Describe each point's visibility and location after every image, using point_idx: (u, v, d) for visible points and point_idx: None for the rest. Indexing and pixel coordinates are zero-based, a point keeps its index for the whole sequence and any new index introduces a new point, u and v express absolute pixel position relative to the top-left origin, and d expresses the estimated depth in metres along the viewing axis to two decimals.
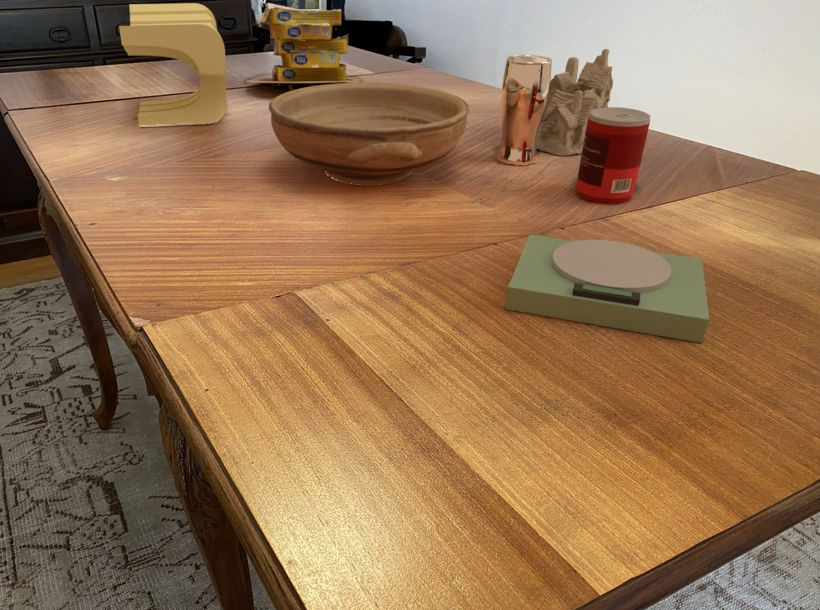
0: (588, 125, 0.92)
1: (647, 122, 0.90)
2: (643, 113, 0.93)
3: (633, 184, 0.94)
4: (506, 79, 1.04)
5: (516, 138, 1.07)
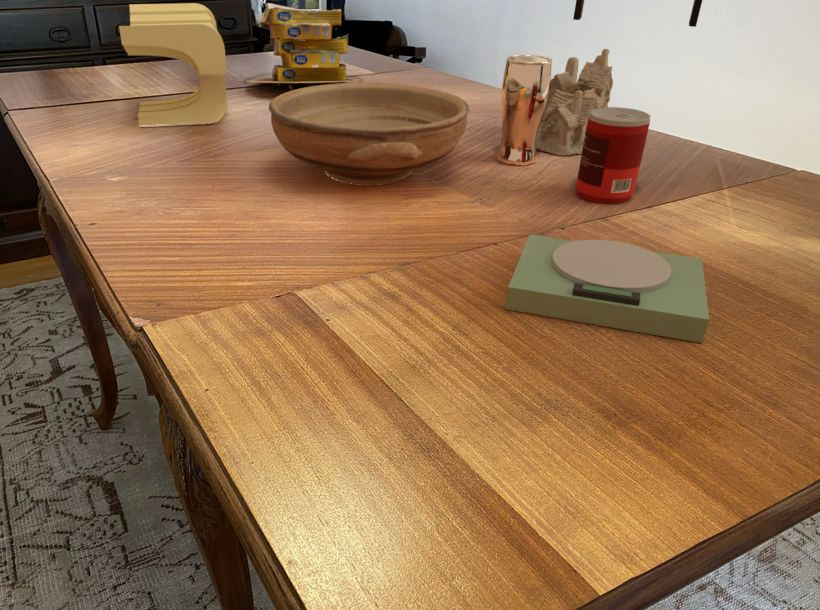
0: (588, 125, 0.92)
1: (647, 122, 0.90)
2: (643, 113, 0.93)
3: (633, 184, 0.94)
4: (506, 79, 1.04)
5: (516, 138, 1.07)
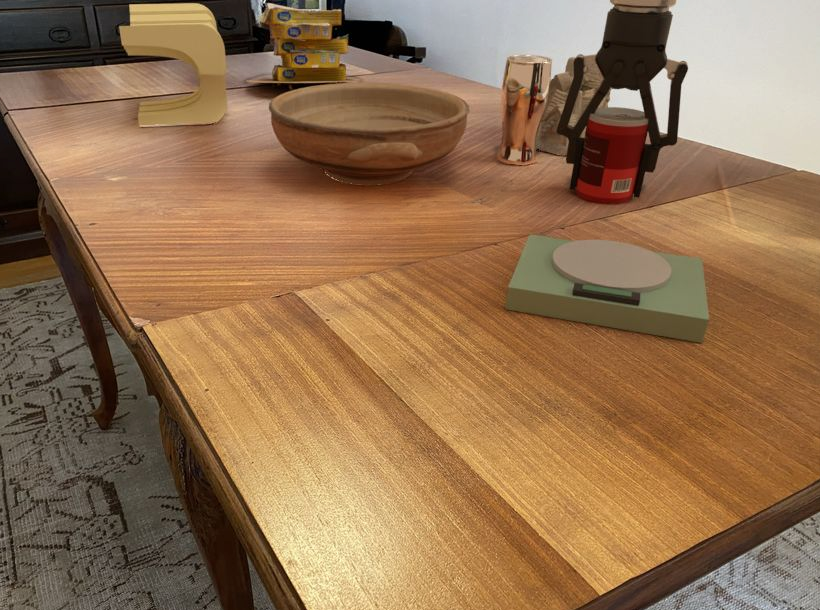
0: (588, 125, 0.92)
1: (647, 122, 0.90)
2: (643, 113, 0.93)
3: (633, 184, 0.94)
4: (506, 79, 1.04)
5: (516, 138, 1.07)
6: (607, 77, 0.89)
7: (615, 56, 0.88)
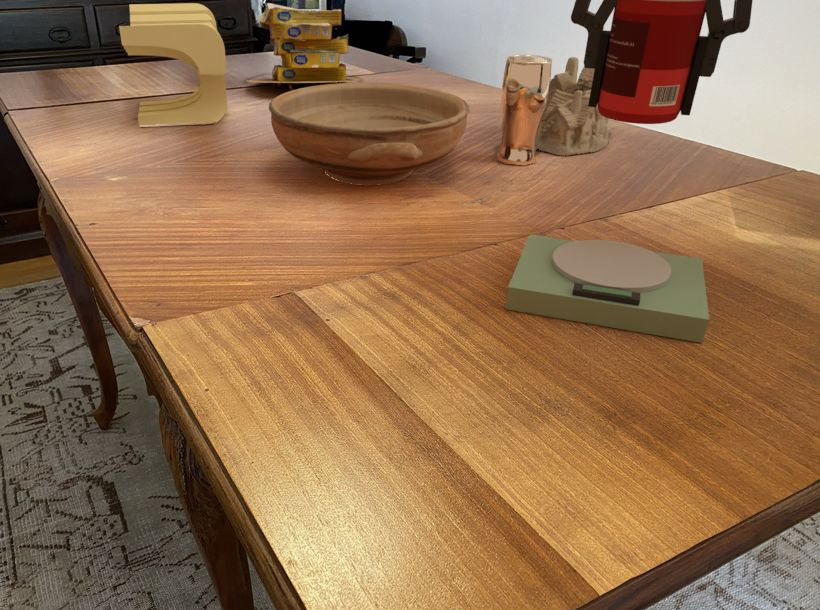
0: (617, 6, 0.64)
1: None
2: None
3: (681, 95, 0.65)
4: (506, 79, 1.04)
5: (516, 138, 1.07)
6: None
7: None
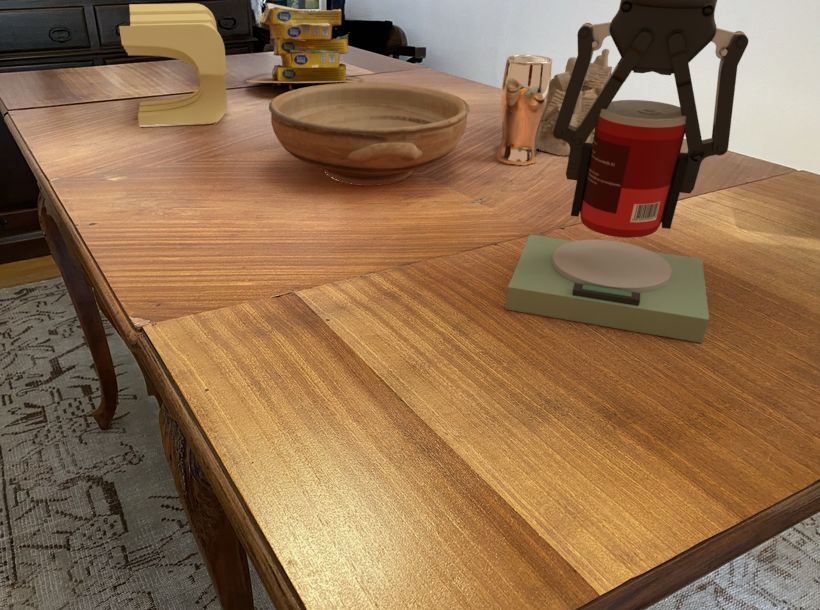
0: (598, 125, 0.64)
1: (685, 121, 0.62)
2: (677, 108, 0.64)
3: (662, 210, 0.66)
4: (506, 79, 1.04)
5: (516, 138, 1.07)
6: (627, 55, 0.61)
7: (639, 24, 0.60)
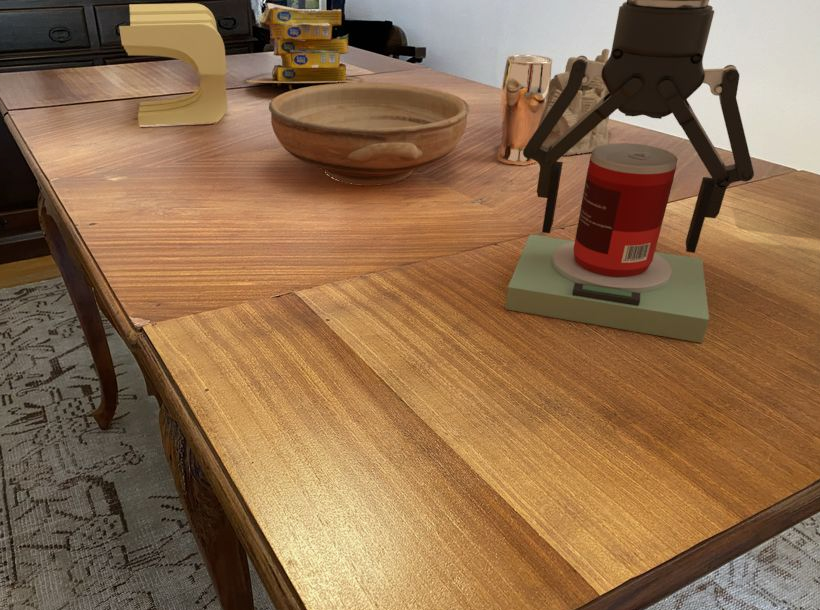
0: (590, 170, 0.66)
1: (673, 167, 0.64)
2: (666, 153, 0.67)
3: (652, 250, 0.68)
4: (506, 79, 1.04)
5: (516, 138, 1.07)
6: (615, 95, 0.62)
7: (630, 75, 0.62)
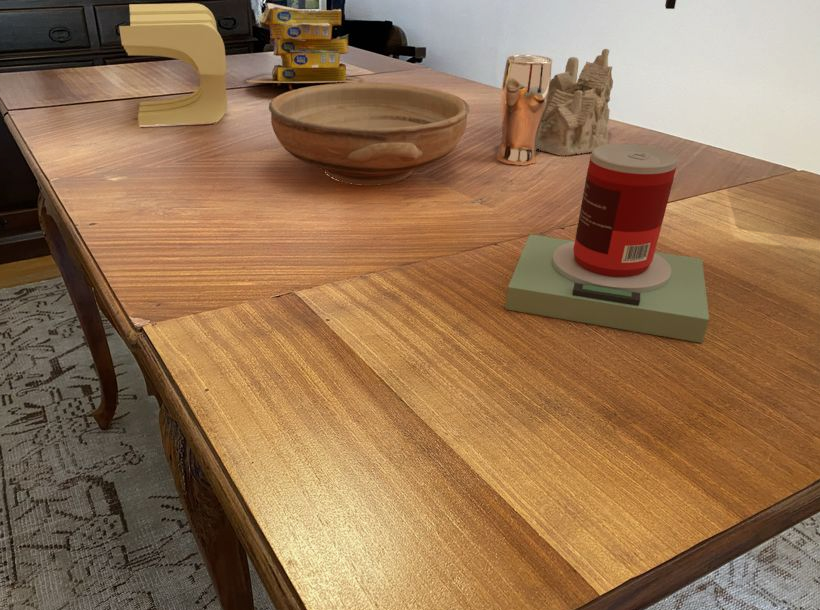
0: (590, 170, 0.66)
1: (673, 167, 0.64)
2: (666, 153, 0.67)
3: (652, 250, 0.68)
4: (506, 79, 1.04)
5: (516, 138, 1.07)
6: None
7: None
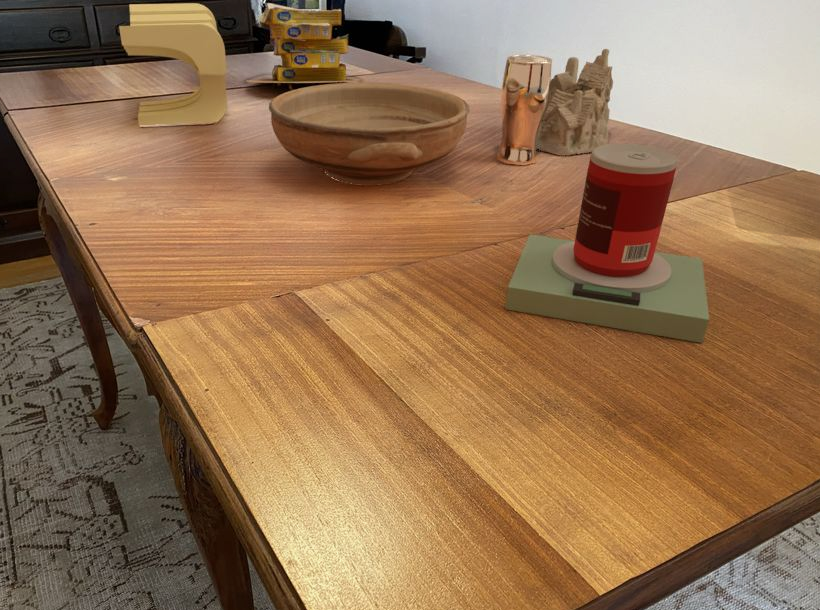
0: (590, 170, 0.66)
1: (673, 167, 0.64)
2: (666, 153, 0.67)
3: (652, 250, 0.68)
4: (506, 79, 1.04)
5: (516, 138, 1.07)
6: None
7: None
